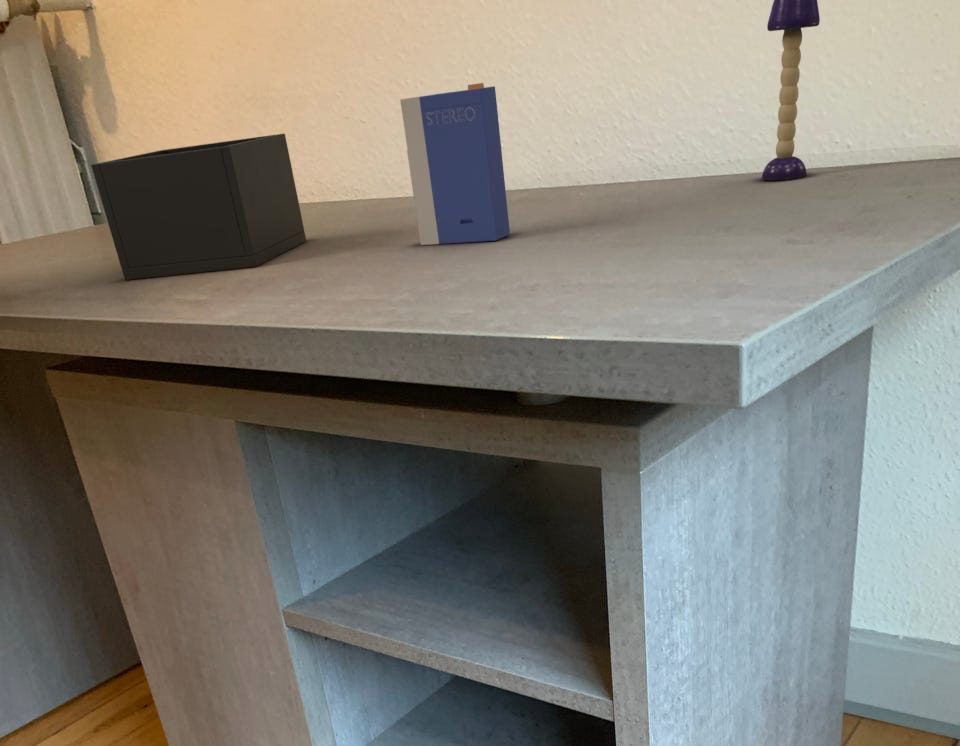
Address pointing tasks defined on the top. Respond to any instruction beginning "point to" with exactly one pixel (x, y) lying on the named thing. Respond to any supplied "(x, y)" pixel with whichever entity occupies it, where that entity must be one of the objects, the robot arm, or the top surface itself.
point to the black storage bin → (201, 207)
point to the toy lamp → (789, 82)
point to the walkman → (456, 166)
